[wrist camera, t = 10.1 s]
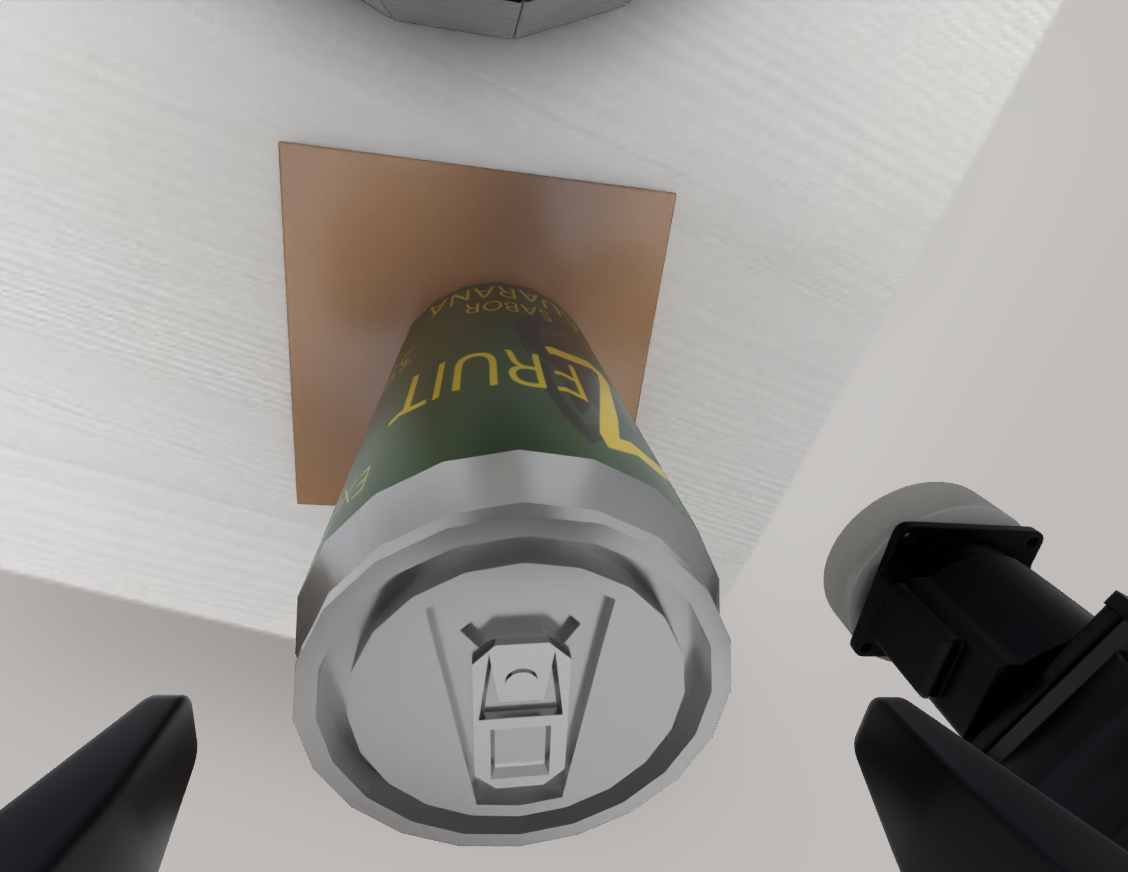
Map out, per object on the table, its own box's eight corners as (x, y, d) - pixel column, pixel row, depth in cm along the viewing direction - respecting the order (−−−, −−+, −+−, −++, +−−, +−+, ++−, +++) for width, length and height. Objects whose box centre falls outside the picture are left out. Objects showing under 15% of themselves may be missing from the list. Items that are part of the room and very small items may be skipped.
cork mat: (672, 192, 17) (677, 193, 17) (615, 511, 21) (618, 518, 20) (282, 141, 15) (277, 141, 15) (300, 498, 19) (296, 504, 19)
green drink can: (583, 455, 19) (718, 837, 8) (405, 458, 19) (301, 879, 8) (594, 278, 17) (792, 487, 6) (393, 274, 16) (226, 501, 6)
